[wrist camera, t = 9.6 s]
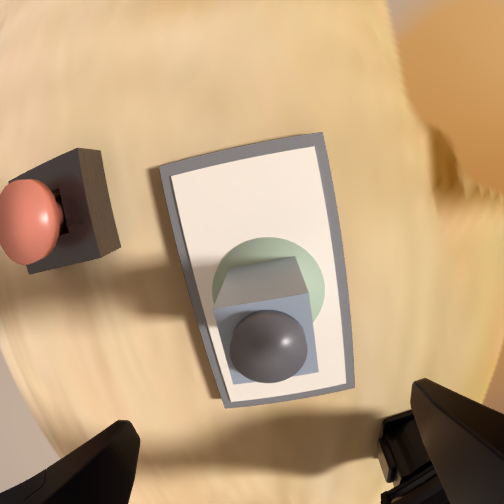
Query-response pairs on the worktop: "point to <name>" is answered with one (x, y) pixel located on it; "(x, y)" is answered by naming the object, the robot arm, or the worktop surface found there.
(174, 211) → the drawing board
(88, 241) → the button housing
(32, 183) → the button
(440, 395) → the robot arm
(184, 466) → the worktop surface
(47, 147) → the worktop surface
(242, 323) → the grey rectangular block
